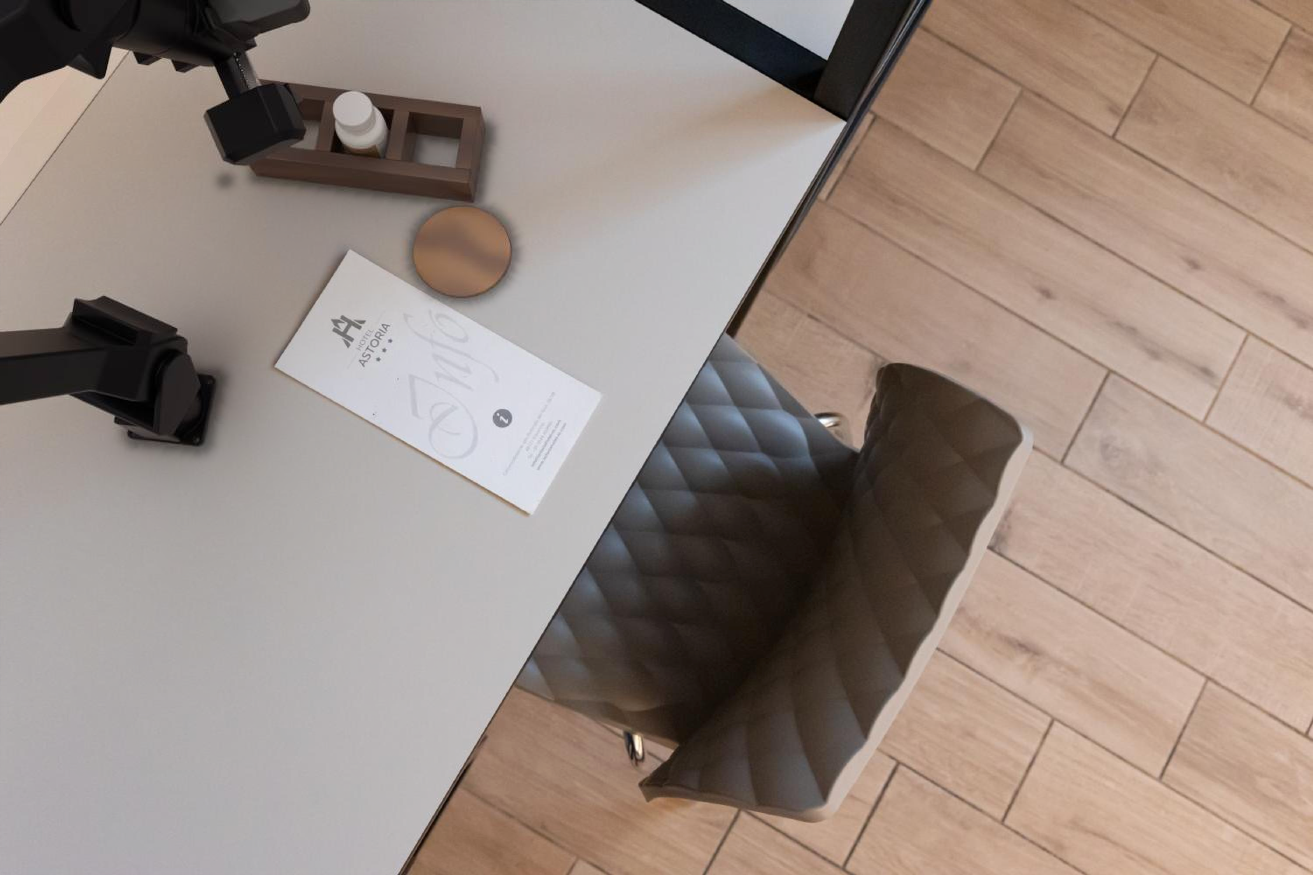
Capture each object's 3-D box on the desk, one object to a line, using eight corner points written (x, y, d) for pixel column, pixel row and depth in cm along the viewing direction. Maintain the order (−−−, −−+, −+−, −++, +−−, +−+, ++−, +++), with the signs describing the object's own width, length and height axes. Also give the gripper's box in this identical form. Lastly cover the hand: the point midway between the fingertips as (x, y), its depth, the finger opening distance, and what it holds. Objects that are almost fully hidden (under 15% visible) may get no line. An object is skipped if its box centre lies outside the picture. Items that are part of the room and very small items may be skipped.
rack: (473, 203, 93) (468, 183, 89) (255, 176, 93) (240, 155, 89) (485, 129, 95) (480, 106, 91) (272, 102, 94) (257, 78, 90)
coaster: (503, 303, 91) (503, 301, 91) (406, 291, 91) (406, 289, 91) (517, 214, 93) (516, 212, 93) (422, 202, 93) (421, 200, 93)
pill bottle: (342, 165, 93) (319, 122, 86) (358, 126, 94) (337, 79, 87) (386, 179, 93) (367, 137, 86) (402, 139, 94) (384, 94, 87)
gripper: (313, 100, 63) (407, 118, 78) (185, -199, 60) (310, -120, 75) (171, 165, 65) (289, 171, 80) (42, -119, 62) (190, -58, 77)
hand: (273, 43), depth 78 cm, fingers open, 9 cm apart
